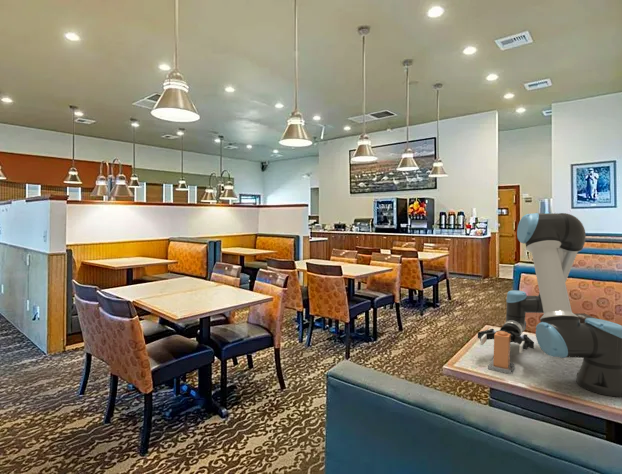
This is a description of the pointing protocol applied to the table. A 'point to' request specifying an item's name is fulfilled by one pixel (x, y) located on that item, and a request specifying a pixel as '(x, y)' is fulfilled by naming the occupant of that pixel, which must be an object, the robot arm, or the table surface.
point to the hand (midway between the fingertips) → (500, 345)
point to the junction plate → (502, 369)
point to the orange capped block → (502, 349)
